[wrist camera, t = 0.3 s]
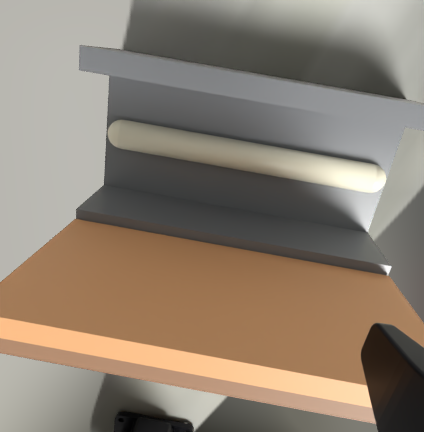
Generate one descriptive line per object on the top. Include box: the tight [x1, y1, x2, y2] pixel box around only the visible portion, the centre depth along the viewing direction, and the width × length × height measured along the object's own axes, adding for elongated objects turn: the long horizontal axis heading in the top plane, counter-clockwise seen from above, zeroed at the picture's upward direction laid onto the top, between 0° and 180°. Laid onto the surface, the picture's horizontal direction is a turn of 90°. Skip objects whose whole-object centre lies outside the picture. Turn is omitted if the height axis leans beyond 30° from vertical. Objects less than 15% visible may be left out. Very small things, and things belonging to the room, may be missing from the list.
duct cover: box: [0, 219, 424, 424], centre depth 15 cm, size 8×16×1 cm
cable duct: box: [76, 45, 424, 276], centre depth 20 cm, size 9×16×5 cm, turn 81°
